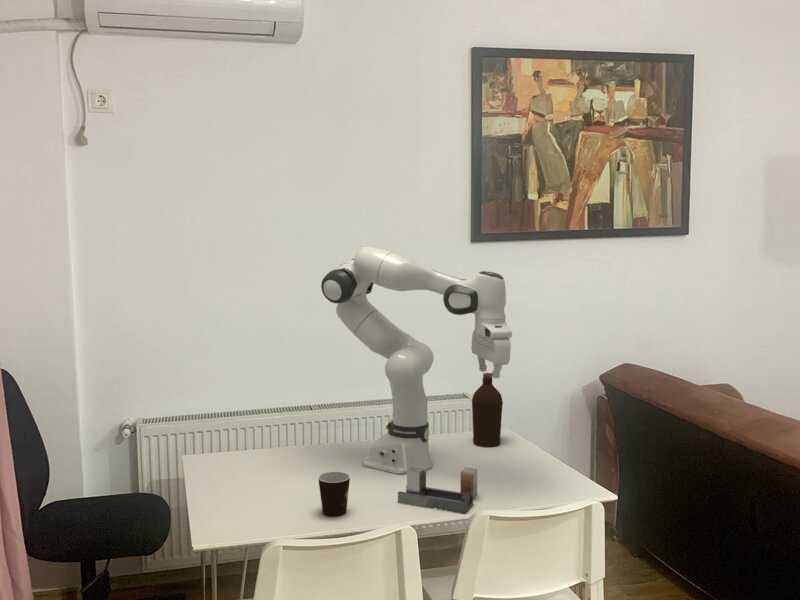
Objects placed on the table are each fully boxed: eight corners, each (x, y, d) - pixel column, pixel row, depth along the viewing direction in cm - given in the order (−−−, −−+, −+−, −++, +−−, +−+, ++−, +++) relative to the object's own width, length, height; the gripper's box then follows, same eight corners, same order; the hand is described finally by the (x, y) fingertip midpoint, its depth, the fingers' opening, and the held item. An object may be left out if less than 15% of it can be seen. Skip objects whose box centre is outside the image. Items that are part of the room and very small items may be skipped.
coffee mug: (337, 521, 204) (337, 484, 203) (312, 514, 208) (311, 478, 207) (362, 506, 214) (362, 471, 212) (337, 500, 218) (337, 466, 217)
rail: (397, 502, 216) (397, 471, 215) (407, 494, 223) (407, 464, 222) (465, 513, 208) (465, 481, 207) (473, 504, 215) (473, 473, 214)
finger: (472, 501, 218) (472, 473, 217) (459, 499, 219) (459, 472, 218) (477, 495, 222) (477, 469, 221) (464, 493, 223) (464, 467, 222)
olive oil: (484, 449, 263) (484, 378, 260) (465, 441, 272) (466, 372, 269) (508, 444, 269) (509, 374, 266) (489, 437, 278) (490, 369, 275)
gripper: (466, 322, 232) (466, 367, 234) (494, 333, 212) (493, 382, 214) (485, 322, 234) (485, 366, 235) (514, 332, 214) (513, 381, 216)
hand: (489, 374), depth 225 cm, fingers open, 8 cm apart
